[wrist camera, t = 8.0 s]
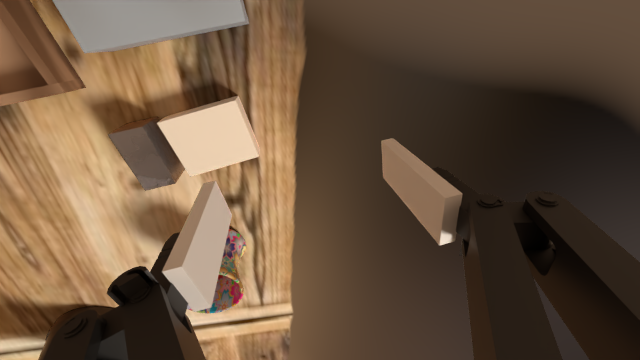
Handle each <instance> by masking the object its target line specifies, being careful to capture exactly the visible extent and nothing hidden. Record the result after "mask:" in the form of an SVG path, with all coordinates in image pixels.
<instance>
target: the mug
mask: <svg viewBox="0 0 640 360" xmlns="http://www.w3.org/2000/svg"><path fill="white" fill-rule="evenodd" d="M245 250H246V243H245V240H244V238H243V237H242V236H241V235H240V234H239V233H238V232H236V231H234V230H231V229H229V230H228V235H227V239H226V244H225V248H224V253H223V257H222V262H221V266H220V271H219V275H218V280H217V284H216V289H215V293H214V298H213V302H212V307H211V308H207V309H204V310H200V311H196V312H199V313H217V312H222V311H225V310H228V309H230V308H232V307H233V306H235V305H236V304H237V303H238V302H239V301H240V300H241V298H242V296H243V286H242V283H241V281H240V278H239V273H238V264H239V260H240V258H241V256H242V255H243V254H244V252H245ZM187 309H189V310H191V311H193V310H192V309H191V308H190V306H189V305H188V306H187Z"/></svg>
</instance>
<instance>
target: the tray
mask: <svg viewBox="0 0 640 360" xmlns="http://www.w3.org/2000/svg"><path fill="white" fill-rule="evenodd" d="M82 88H86V87H85V85H84V84H83V82H82V80H81V79H80V77H79V76H78V74H77V73H76V71H75V70H74V68H73V67H72V65H71V64H70V62H69V61H68V59H67V57H66V56H65V54H64V53H63V51H62V50H61V48H60V47H59V45H58V44H57V42H56V41H55V39H54V38H53V36H52V34H51V33H50V31H49V30H48V28H47V27H46V25H45V24H44V22H43V21H42V19H41V18H40V16H39V14H38V13H37V11H36V10H35V8H34V7H33V5H32V4H31V2H30V1H29V0H0V106H4V105H8V104H13V103H18V102H23V101H28V100H32V99H37V98H42V97H47V96H51V95H56V94H61V93H66V92H70V91H74V90H78V89H82Z"/></svg>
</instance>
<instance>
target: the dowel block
mask: <svg viewBox="0 0 640 360" xmlns="http://www.w3.org/2000/svg"><path fill="white" fill-rule="evenodd" d="M52 1H53V2H54V4H55V6H56V7H57V9H58V10H59V12H60V14H61V15H62V17H63V19H64V20H65V22H66V24H67V25H68V27H69V28H70V30H71V32H72V33H73V35H74V37H75V38H76V40H77V42H78V43H79V45H80V46H81V48H82V50H83V51H84V53H94V52H109V51H117V50H122V49H127V48H132V47H137V46H141V45H146V44H151V43H156V42H161V41H166V40H171V39H176V38H181V37H186V36H191V35H196V34H201V33H206V32H211V31H216V30H221V29H226V28H231V27H236V26H241V25H246V24H249V21H248V17H247V14H246V10H245V7H244V3H243V0H52Z"/></svg>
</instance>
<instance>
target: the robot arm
mask: <svg viewBox="0 0 640 360" xmlns="http://www.w3.org/2000/svg"><path fill="white" fill-rule="evenodd" d="M381 142H382V164H383V178H384V179H385V180H386V181H387V182H388V183H389V185H390V186H391V187H392V188H393V190H394V191H395V192H396V193H397V194H398V196H399V197H400V198H401V199H402V201H403V202H404V203H405V204H406V205H407V207H408V208H409V209H410V210H411V211H412V213H413V214H414V215H415V216H416V217H417V219H418V220H419V221H420V222H421V224H422V225H423V226H424V227H425V228H426V230H427V231H428V232H429V233H430V234H431V236H432V237H433V238H434V239H435V240H436V242H437V243H438V244H439V245H443V244H446V243H450V242H454V241H455V236H456V232H457V233H458V234H459V235H460V236H461V237H462V238H463V239H462V245H461V249H460V256H462V254H463V262H464V272H465V281H466V291H467V300H468V309H469V319H470V327H471V337H472V346H473V356H474V360H562V357H561V354H560V351H559V349H558V346H557V343H556V340H555V337H554V335H553V332H552V329H551V326H550V324H549V321H548V318H547V315H546V312H545V310H544V307H543V304H542V301H541V298H540V296H539V293H538V290H537V287H536V285H535V282H534V279H535V280H536V282H537V283H538V285H539V286H540V288H541V289H542V291H543V292H544V294H545V295H546V297H547V298H548V299H549V301H550V303H551V304H552V305H553V307H554V308H555V310H556V311H557V313H558V314H559V316H560V317H561V318H562V320H563V322H564V323H565V324H566V326H567V327H568V329H569V330H570V332H571V333H572V335H573V336H574V338H575V339H576V341H577V342H578V344H579V345H580V346H581V348H582V349H583V351H584V352H585V354H586V355H587V357H588V358H589V360H640V262H639V261H638V260H636V259H635V258H634V257H633V256H632V255H630V254H629V253H628V252H627V251H626V250H625V249H624V248H622V247H621V246H620V245H619V244H618V243H617V242H615V241H614V240H613V239H612V238H611V237H610V236H608V235H607V234H606V233H605V232H604V231H602V230H601V229H600V228H599V227H598V226H597V225H595V224H594V223H593V222H592V221H591V220H590V219H588V218H587V217H586V216H585V215H584V214H583V213H581V212H580V211H579V210H578V209H577V208H575V207H574V206H573V205H572V204H571V203H570V202H569V201H567V200H566V199H564V198H563V197H561V196H559V195H557V194H554V193H551V192H545V191H535V192H530V193H528V194H527V195H526V198H525V201H524V202H505V201H504V200H503V199H501V198H499V197H497V196H494V195H491V194H479V193H477V192H476V191H475V190H473V189H472V188H470V187H469V186H468V185H466V184H465V183H464V182H462V181H460V180H459V179H458V178H457V177H454V175H453V174H451V173H450V172H448V171H447V170H444V169H442V168H439V167H436V168H432V169H431V168H430V167H428V166H427V165H426V164H424V163H423V162H422V161H421V160H420V159H418V158H417V157H416V156H415V155H413V154H412V153H411V152H409V151H408V150H407V149H406V148H404V147H403V146H402V145H401V144H399V143H398V142H397V141H395V140H394V139H393V138H392V139H388V140H383V141H381ZM231 217H232V214H231V212H230V210H229V208H228V206H227V203H226V201H225V199H224V197H223V195H222V193H221V191H220V189H219V187H218V185H217V182H216V181H212V182H208V183H204V184H203V185H202V187H201V190H200V192H199V194H198V196H197V198H196V200H195V202H194V204H193V207H192V209H191V211H190V213H189V215H188V217H187V219H186V221H185V224H184V226H183V228H182V230H181V232H179V233H175V234H173V235H172V236H171V237H170V238H169V239H168V240H167V241H166V242H165V244H164V246H163V248H162V250H161V251H162V252H160V254H159V256H158V259H157V260H156V262H155V264H154V265H153V267H152V269H151V271H150V272H149V271H148V269H147V268H146V267H142V266H139V267H135V268H132V269H130V270H128V271H126V272H124V273H123V274H121V275H120V276H119V277H118V278H117V279H115V280H114V281H113V282H112V284H111V285H110V287H109V288H108V292H107V294H108V295H109V296H110V297H111V298H112V299H113V300H114V301H115V302H116V303H117V304H118V305H119V306H118V307H116V308H114V309H113V308H107V307H86V308H79V309H75V310H72V311H69V312H67V313H65V314H63V315H62V316H61V317H59V318H58V320H57V321H56V322H55V323H54V325H53V326H52V327H51V329H50V330H49V332H48V334H47V337H46V342H45V345H44V347H43V349H42V352H41V354H40V357H39V359H38V360H206V359H205V356H204V354H203V351H202V349H201V347H200V344H199V342H198V339H197V337H196V335H195V332H194V330H193V327H192V325H191V322H190V320H189V318H188V317H187V316H186V315H185V312H186V309H187V306H188V305H189V306H190V308H191V309H192V310H193V311H194V312H196V311H200V310H204V309H207V308H211V307H212V302H213V298H214V293H215V289H216V284H217V280H218V275H219V271H220V266H221V262H222V257H223V253H224V248H225V244H226V239H227V235H228V230H229V226H230V221H231ZM533 278H534V279H533Z"/></svg>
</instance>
